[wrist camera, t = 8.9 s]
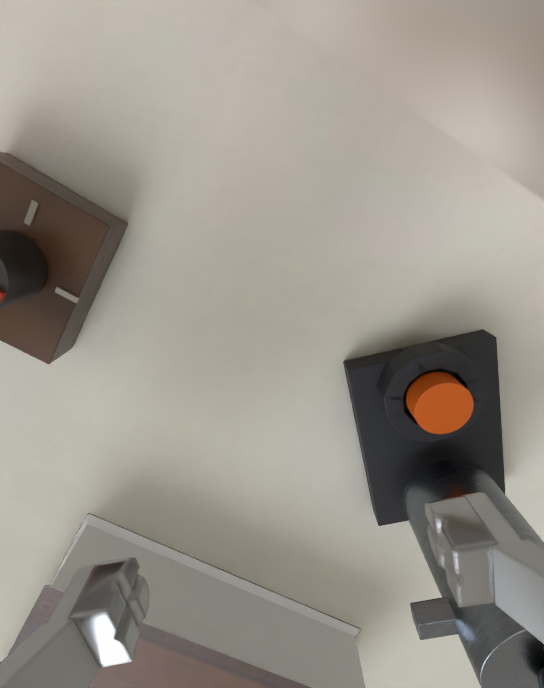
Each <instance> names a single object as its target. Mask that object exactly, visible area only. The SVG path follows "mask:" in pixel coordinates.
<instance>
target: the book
mask: <svg viewBox="0 0 544 688" xmlns="http://www.w3.org/2000/svg"><path fill="white" fill-rule="evenodd" d="M130 557H132V558H136V560H137V562H138V564H139V566H140V568H139V571H138V574H139V575H141V576H142V577H144V578H145V579H146V581H147V583H148V587H149V593H150V597H149V607H148V611H147V614H146V617H145V618H144V620H143V621H142V622H141V623H140V624H139V625H138V629H139V632H140V637H139V640H138V644H137V647H136V650H135V653H134V656H133V660H132V662H127V663H122V664H117V665H112V666H107V667H102V668H100V671H99V673H98V674H97V675H96V677H95V678H94V680H93V681H92V682H91V684H90V685H89V686H88V688H365V684H364V679H363V674H362V669H361V663H360V658H359V653H358V648H357V643H356V638H355V637H356V635H357V634H358V633H359V631H360V630H361V629H358V628H356V627H353V626H351V625H349V624H346V623H344V622H342V621H339V620H337V619H335V618H332V617H330V616H328V615H325V614H323V613H321V612H318V611H316V610H314V609H311V608H309V607H307V606H304V605H302V604H300V603H297V602H295V601H292V600H290V599H288V598H285V597H283V596H281V595H278V594H276V593H274V592H271V591H269V590H267V589H264V588H262V587H260V586H257V585H255V584H253V583H250V582H248V581H246V580H243V579H241V578H238V577H236V576H234V575H231V574H229V573H227V572H224V571H222V570H220V569H217V568H215V567H213V566H210V565H208V564H206V563H203V562H201V561H199V560H196V559H194V558H192V557H189V556H187V555H185V554H182V553H180V552H177V551H175V550H173V549H170V548H168V547H166V546H163V545H161V544H159V543H156V542H154V541H152V540H149V539H147V538H145V537H142V536H140V535H138V534H135V533H133V532H131V531H128V530H126V529H123V528H121V527H119V526H116V525H114V524H112V523H109V522H107V521H105V520H102V519H100V518H98V517H95V516H93V515H91V514H88V515H87V517H86V519H85V520H84V522H83V524H82V526H81V528H80V530H79V532H78V534H77V535H76V537H75V539H74V541H73V543H72V545H71V547H70V549H69V550H68V552H67V554H66V556H65V558H64V560H63V562H62V563H61V565H60V567H59V569H58V571H57V573H56V575H55V577H54V578H53V580H52V582H51V584H50V585H45V586H44V588H43V590H42V592H41V593H40V595H39V597H38V599H37V601H36V603H35V605H34V607H33V609H32V610H31V612H30V614H29V616H28V618H27V620H26V622H25V624H24V626H23V628H22V629H21V631H20V633H19V635H18V637H17V639H16V641H15V643H14V645H13V646H12V648H11V650H10V652H9V654H10V653H11V652H12V651H14V650H15V649H16V648H17V647H18V646H19V645H20V644H21V643H22V642H23V641H24V640H26V639H27V638H28V637H29V636H30V635H31V634H32V633H33V632H34V631H35V630H36V629H37V628H39V627H40V626H41V625H42V624H46V623H48V621H49V620H50V618H51V616H52V614H53V612H54V610H55V609H56V607H57V605H58V603H59V601H60V600H61V598H62V596H63V594H64V592H65V590H66V589H67V587H68V585H69V583H70V581H71V579H72V578H73V576H74V574H75V572H76V570H77V569H78V568H80V567H81V566H82V565H88V564H94V563H99V562H104V561H111V560H117V559H123V558H130ZM9 654H8V655H9Z"/></svg>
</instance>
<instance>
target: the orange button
mask: <svg viewBox="0 0 544 688" xmlns="http://www.w3.org/2000/svg"><path fill="white" fill-rule="evenodd" d="M406 404H407V407H408V409H409V411H410V412H411V414H412V415H413V417H414V418H415V420H416V421H417V423H418V424H419V425H420V427H422V428H423V429H424V430H426V431H428V432H430V433H434V434H447V433H451V432H453V431H455V430H457V429H459V428H461V427H462V426H463V425H464V424H465V423H466V422H467V421H468V420H469V418H470V417H471V414H472V412H473V407H474V402H473V398H472V395H471V393H470V392H469V391H468V390H467V389H466V388H465V387H464V386H463V385H462V384H461V383H460V382H459V381H458V380H457V379H456V378H455V377H453V376H452V375H450V374H448V373H445V372H440V371H434V372H429V373H426V374H423V375H421V376H420V377H418V378H417V379H416V380H414V382H413V383H412V384H411V385H410V387H409V389H408V391H407V394H406Z"/></svg>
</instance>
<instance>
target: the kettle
mask: <svg viewBox="0 0 544 688" xmlns="http://www.w3.org/2000/svg"><path fill="white" fill-rule="evenodd" d="M477 492H483V493H485V494H486V495H487V496H488V498H489V499H490V500H491V501H492V503H493V504H494V505H495V507H496V508H497V509H498V510H499V512H500V513H501V514H502V516H503V517H504V518H505V519H506V521H507V522H508V523H509V525H510V526H511V527H512V528H513V530H514V531H515V532H516V533H517V535H518V536H519V537H520V539H521V540H526V539H528V540H530V541H532V542H534V543H536V544H538V545H540V546H542V547H544V542H543V541H542V540H541V538H540V537H539V536H538V535H537V534H536V532H535V531H534V530H533V529H532V527H531V526H530V525H529V524H528V522H527V521H526V520H525V519H524V517H523V516H522V515H521V514H520V513H519V511H518V510H517V509H516V508H515V506H514V505H513V504H512V503H511V501H510V500H509V499H508V498H507V497H506V495H505V494H504V493H503V492H502V490H501V489H500V488H499V487H498V485H497V484H496V483H495V482H494V480H493V479H492V478H491V477H490V476H489V474H488V473H487V472H486V471H485V470H484V469H483V468H482V467H481V466H479V465H478V464H476V463H473V462H471V461H468V460H463V459H445V460H440V461H436V462H434V463H431V464H429V465H427V466H425V467H423V468H422V469H420V470H419V471H418V472H417V473H415V474H414V475H413V476H412V478H411V479H410V480H409V482H408V483H407V485H406V487H405V489H404V493H403V500H402V501H403V508H404V511H405V513H406V515H407V518H408V520H409V522H410V525H411V527H412V529H413V531H414V534H415V536H416V538H417V541H418V543H419V545H420V548H421V550H422V552H423V554H424V557H425V559H426V561H427V564H428V566H429V568H430V570H431V573H432V575H433V577H434V580H435V582H436V584H437V587H438V589H439V591H440V593H441V596H442V598H437V599H432V600H426V601H420V602H414V603H411V604H410V605H411V611H412V616H413V620H414V623H415V626H416V629H417V632H418V635H419V638H420V639H421V640H424V639H430V638H436V637H443V636H449V635H455V634H458V635H459V637H460V639H461V642H462V644H463V646H464V649H465V651H466V653H467V655H468V658H469V660H470V662H471V665H472V667H473V669H474V671H475V674H476V676H477V678H478V681H479V683H480V685H481V687H482V688H544V644H543V643H542V642H541V641H539V640H538V639H537V638H536V637H534V636H533V635H532V634H531V633H530V632H528V631H527V630H526V629H525V628H523V627H522V626H521V625H520V624H519V623H517V622H516V621H515V620H514V619H512V618H511V617H510V616H509V615H507V614H506V613H505V612H504V611H503V610H501V609H500V608H499V607H498V606H496V605H495V603H490V604H482V605H475V606H467V607H460V608H459V606H458V604H457V602H456V600H455V598H454V596H453V594H452V592H451V590H450V588H449V586H448V584H447V580H446V572H445V570H444V569H442V568H441V567H440V566H439V565H438V563H437V561H436V558H435V556H434V554H433V551H432V548H431V545H430V541H429V537H428V531H427V527H428V525H429V524H430V523H429V521H428V519H427V517H426V515H425V503H427V502H432V501H437V500H442V499H447V498H452V497H457V496H463V495H467V494H472V493H477Z"/></svg>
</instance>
